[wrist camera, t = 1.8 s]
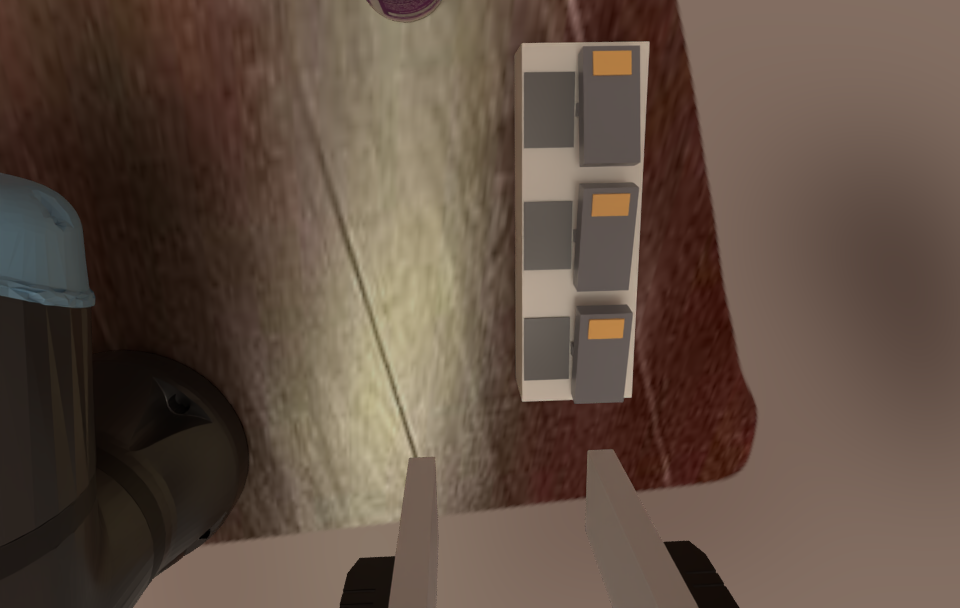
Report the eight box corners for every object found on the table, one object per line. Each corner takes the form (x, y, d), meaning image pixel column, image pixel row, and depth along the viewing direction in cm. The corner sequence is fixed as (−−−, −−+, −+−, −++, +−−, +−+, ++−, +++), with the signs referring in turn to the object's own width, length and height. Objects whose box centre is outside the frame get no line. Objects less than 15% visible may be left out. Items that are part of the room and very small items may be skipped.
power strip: (515, 377, 41) (523, 406, 36) (514, 55, 35) (523, 40, 31) (614, 374, 41) (634, 401, 36) (628, 53, 36) (653, 39, 31)
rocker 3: (570, 392, 36) (575, 405, 35) (576, 305, 34) (581, 315, 33) (618, 391, 37) (623, 403, 35) (627, 304, 34) (633, 314, 33)
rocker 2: (573, 283, 35) (577, 292, 33) (579, 183, 32) (584, 189, 31) (622, 282, 35) (629, 291, 34) (632, 182, 32) (640, 188, 31)
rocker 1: (579, 167, 32) (585, 163, 31) (578, 54, 31) (583, 45, 30) (633, 165, 32) (641, 161, 31) (632, 53, 32) (640, 44, 30)
